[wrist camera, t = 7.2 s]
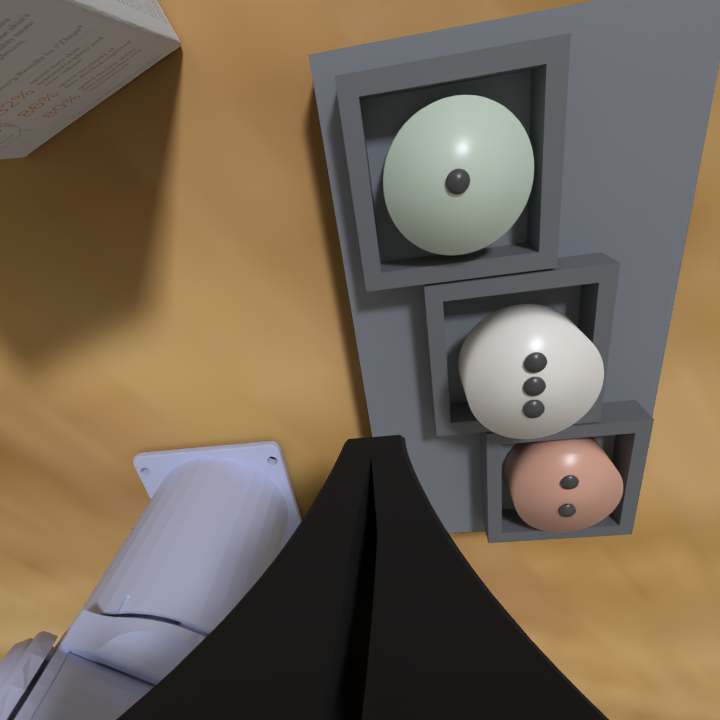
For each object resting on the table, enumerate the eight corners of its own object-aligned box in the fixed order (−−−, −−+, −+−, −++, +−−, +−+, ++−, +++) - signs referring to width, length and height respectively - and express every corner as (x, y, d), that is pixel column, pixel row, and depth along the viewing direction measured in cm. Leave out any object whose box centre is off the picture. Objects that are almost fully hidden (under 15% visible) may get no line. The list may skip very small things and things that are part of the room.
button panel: (613, 491, 23) (647, 544, 20) (388, 507, 25) (389, 560, 22) (690, -6, 14) (776, -44, 11) (317, 63, 15) (301, 46, 12)
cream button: (576, 404, 17) (598, 434, 15) (460, 415, 17) (469, 446, 16) (587, 296, 15) (612, 317, 13) (455, 311, 15) (464, 334, 14)
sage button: (516, 233, 15) (532, 246, 14) (391, 250, 16) (391, 264, 14) (518, 87, 13) (538, 81, 12) (375, 111, 14) (374, 109, 12)
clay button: (598, 498, 21) (617, 531, 19) (503, 505, 21) (514, 537, 20) (609, 423, 19) (631, 451, 17) (504, 432, 19) (515, 461, 18)
